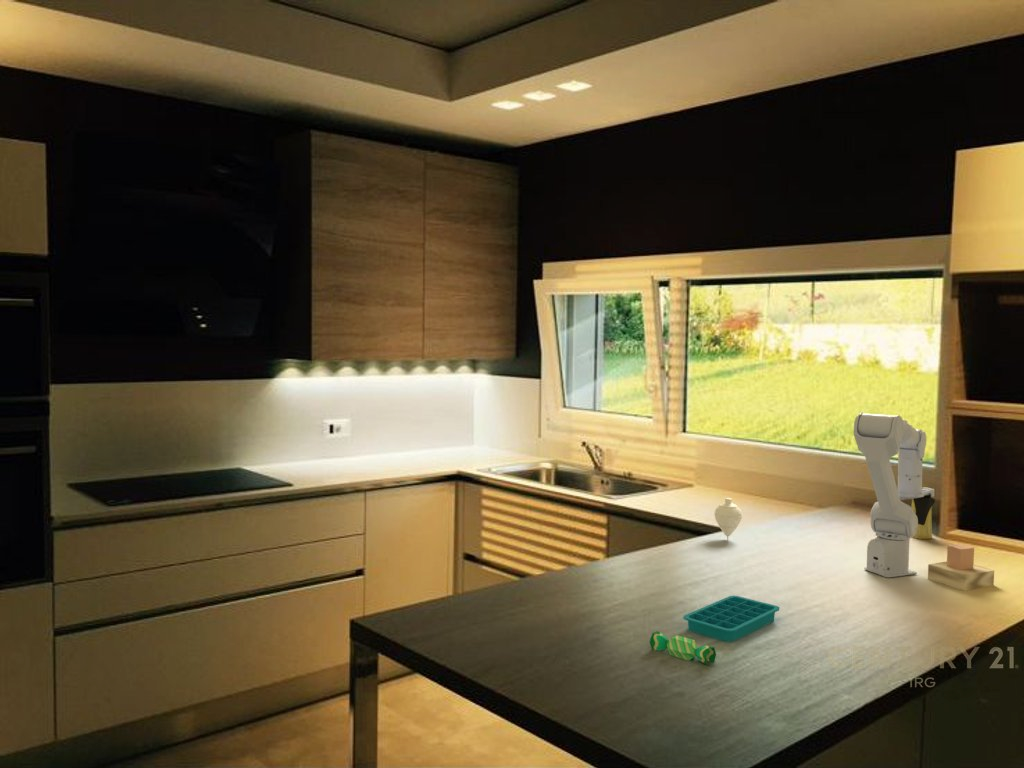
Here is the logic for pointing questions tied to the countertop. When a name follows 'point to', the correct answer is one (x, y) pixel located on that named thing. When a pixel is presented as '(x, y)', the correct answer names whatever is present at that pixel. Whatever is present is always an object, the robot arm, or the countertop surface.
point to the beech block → (961, 576)
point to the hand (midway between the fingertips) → (908, 526)
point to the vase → (926, 529)
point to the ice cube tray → (731, 618)
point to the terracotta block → (960, 556)
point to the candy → (682, 647)
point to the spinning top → (728, 516)
